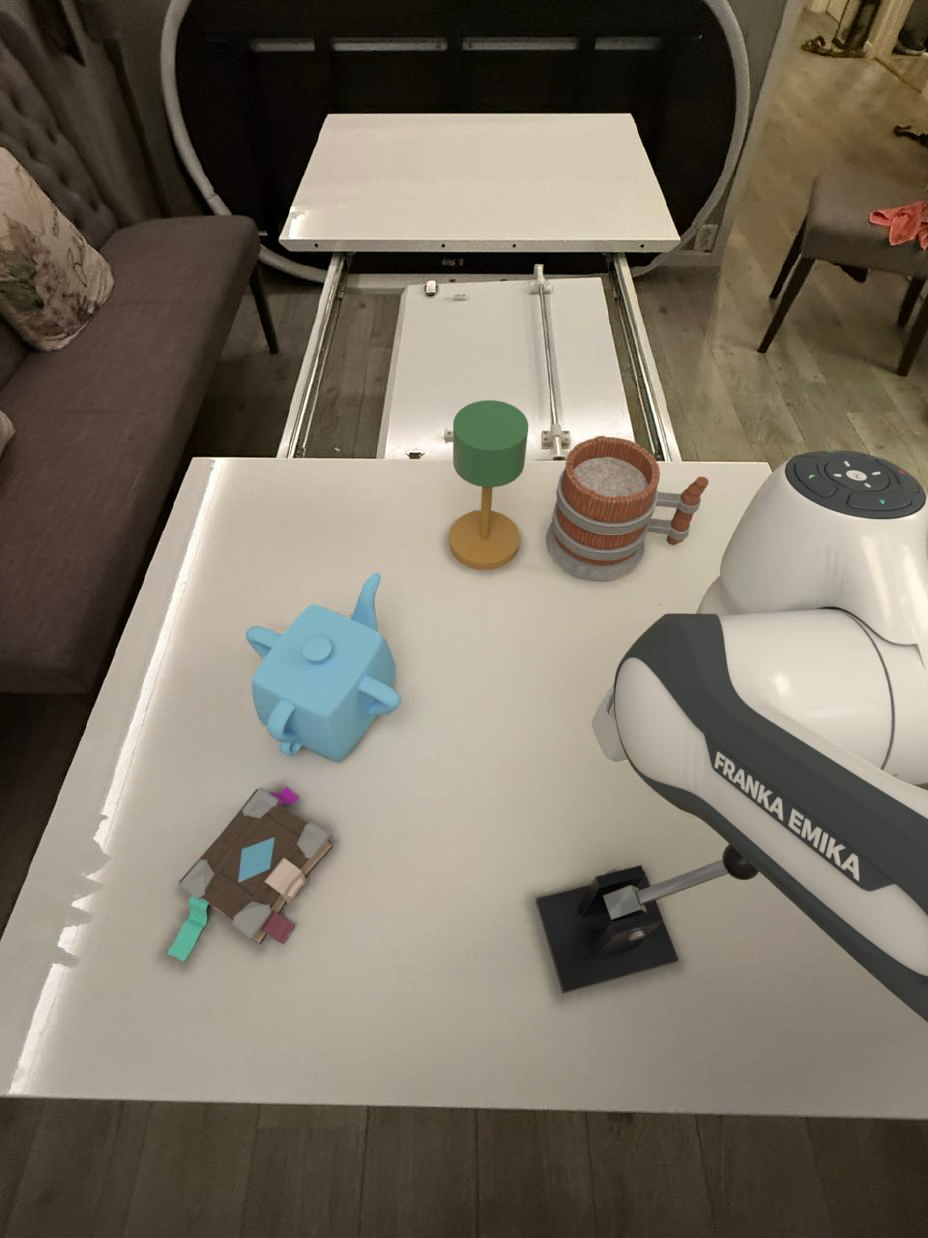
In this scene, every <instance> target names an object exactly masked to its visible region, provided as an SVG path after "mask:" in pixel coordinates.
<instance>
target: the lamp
mask: <svg viewBox="0 0 928 1238" xmlns="http://www.w3.org/2000/svg"><path fill="white" fill-rule="evenodd" d="M528 435H529V421H528V419H527V417H526V415H525V414H524V413H523V411H521V409H519V408H518V407H516V406H515V405H513V404H511V403H508V402H505V401H501V400H494V399H493V400H492V399H487V400H486V399H485V400H479V401H474V402H471V403H469V404H467V405H465V406H463V407H462V408H460V409H459V411H458V412H457V413H456V414H455V416H454V418H453V422H452V465H453V468H454V471H455V473H456V474H457V475H458V476H459V477H460V478H461V479H462V480H463V481H465V482H466V483H469V484H470V485H473V486H477V487H481V497H480V498H481V501H480V502H481V503H480V510H473V511H470V512H466V513H464V514H463V515H461V516H460V517H458V518H457V519H456V520H455V521H454V522H453V524H452V525H451V528H450V530H449V534H448V535H449V549H450V551H451V553H452V555H453V556H454V558H455V559H456V560H457V561H458V562H459V563H461V564H462V565H464V566H465V567H467V568H471V569H474V570H479V571H491V570H497V569H501V568H503V567H505V566H506V565H508V564H509V563H511V562H512V561H513V560H514V559H515V557H517V554H518V552H519V549H520V543H521V534H520V531H519V530H520V529H519V527H518V526H517V525H516V522H514V521H513V520H512V519H511V518H510V517H508V516H507V515H505V514H503V513H501V512H499V511H494V510H492V505H493V504H492V503H493V491H494V489H493V488H499V487H502V486H503V487H504V486H506V485H509V484H511V483H512V482H514V481H516V480H517V479H518V478H519V477H520V476H521V475H522V473H523V471H524V469H525V462H526V453H527V444H528Z"/></svg>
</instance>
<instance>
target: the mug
mask: <svg viewBox="0 0 928 1238" xmlns="http://www.w3.org/2000/svg"><path fill="white" fill-rule="evenodd" d="M660 477H661V471H660V467H659V464H658V462H657V460H656V459H655V458H654V456H653V455H652V453H650V452H649V451H648V450H647V449H646V448H645V447H643V446H641V445H640V444H638V443H636V442H634V441H632V440H629V439H625V438H621V437H614V436H605V435H597V436H595V437H594V438H589V439H586V440H585V441H580V442H579V443H577V444H576V445H574V447H573V448H572V449H571V450H569V452H568V453H567V456H566V461H565V466H564V469H563V470H562V471H561V473H560V475H559V478H558V481H557V487H556V501H555V504H554V507H553V513H552V517H551V522H550V524H549V526H548V528H547V529H546V534H545V545H546V548H547V551H548V553H549V555H550V557H551V559H552V560H553V561H554V562H555V563H556V565H558V566H559V567H560V568H562V569H563V571H566V572H567V573H570V575H573V576H576V577H578V578H581V579H584V580H591V581H600V582H601V581H603V582H604V581H611V580H616V579H619V578H622V577H624V576H626V575H628V574H630V573H631V572H633V571H634V570H635V569H636V568H637V567H638V566H639V564H640V563H641V561H642V559H643V556H644V554H645V553H644V552H645V543H644V542H645V539H646V536H647V533H649V534H650V533H651V534H660V535H667V536H666V542H667V544H668V545H670V546H676V545H678V544H680V543H682V542H684V540H685V539H687V538H688V537H689V534H690V530H691V522H692V520H693V516H694V515H695V513H696V512H697V511H698V510H699V509H700V507H701V502H702V499H701V495H702V494H703V493H704V492H705V490H706V488H707V487H708V485H709V484H710V481H709V479H708V478H707V477H706V476H698V477H696V479H695V481H693V482H692V483H691V484H689V485H688V486H687V488H686V489H684V490H683V491H682V492H680V493H675V492H666V491H658V485H659V483H660V480H661V479H660ZM656 507H660V508H661V507H662V508H670V509H671V508H672V509H676V510H675V513H674V514H673V517H672V518H671V519H661V518H652V517H653V514H654V512H655V510H656Z"/></svg>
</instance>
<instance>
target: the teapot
mask: <svg viewBox="0 0 928 1238" xmlns="http://www.w3.org/2000/svg"><path fill="white" fill-rule="evenodd" d="M381 581H382V576H381V573H379V572H375V573H373V574H371V575H370V576H369V577H368V578H367V579H366V580H365V582H364V584H363V586H362V588H361V590H360V594H359V596H358V599H357V601H356V604H355V607H354V610H353V612H352V615H351V617H348V616H345V615H343V614H341V613H338V612H335V611H334V610H331V609H328V608H326V607H324V606H322V605H319V604H315V603H313V604H309V606H307V607H306V608H305V609H304V610H303V611H302V612H301V613H300V614H299V615H298V616H297V617H296V619H294V621H293V622H292V623H291V624H290V625H289V626H288V627H287V629H286V630H285V631H284V632H283V634H280V633H278V632H277V631H274V630H271V629H269V628H266V627H263V626H259V625H253V626H250V627H249V628H247V630H246V631H245V639H246V641H247V642H248V644H249V645H250V646H251V648H252V649H253V650H254V651H255V652H256V653H257V654H258V655H259V656H260V657H262V661H261V663H260V664H259V665H258V667H257V669H256V670H255V672H254V674H253V676H252V679H251V687H252V688H251V690H252V698H253V704H254V708H255V711H256V714H257V717H258V719H259V721H260V722H261V723H262V724H263V725H265V726H266V729H267V733H268V734H269V735H270V737H272V739H274V740H276V741H278V742H280V743H279V746H278V747H279V751H280V752H281V753H282V754H284V755H285V756H294V755H295V754H297V753H298V752H299V751H300V750H301V748H302V747H303V748H305V749H307V750H308V751H310V752H312V753H314V754H316V755H319V756H321V757H323V758H325V759H328V760H331V761H333V762H337V763H339V762H341V761H343V760H344V759H345V758H346V757H347V756H348V755H349V754H350V752H351V751H352V750H353V749H354V748H355V747H356V745H357V744H358V743H359V741H360V740H361V739H362V737H363V736H364V735H365V734H366V732H367V731H368V730H369V728H370V727H371V725H372V724H373V723H374V721H375V719H376V718H377V716H379V715H388V714H391V713H393V712H395V711H396V710H398V708H399V707H400V705H401V703H402V698H401V695H400V694H399V692H398V691H396V690H395V689H394V688H393V685H394V683H395V680H396V676H397V668H396V663H395V658H394V655H393V653H392V650H391V648H390V646H389V643H388V642H387V640H386V638H385V636H384V635H383V634H382V633H381V632H379V631H378V628H379V627H378V619H377V618H378V617H377V613H376V605H375V602H376V595H377V590H378V588H379V586H380V583H381Z"/></svg>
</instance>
